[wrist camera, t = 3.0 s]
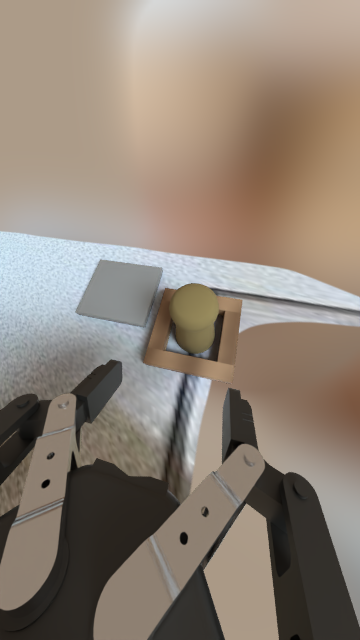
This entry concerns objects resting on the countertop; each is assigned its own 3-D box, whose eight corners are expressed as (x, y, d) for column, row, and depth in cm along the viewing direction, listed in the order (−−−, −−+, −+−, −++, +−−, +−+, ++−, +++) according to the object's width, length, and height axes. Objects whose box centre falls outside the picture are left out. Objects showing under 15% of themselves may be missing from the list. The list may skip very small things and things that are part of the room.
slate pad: (79, 314, 30) (75, 312, 30) (103, 263, 34) (100, 259, 33) (145, 327, 28) (143, 325, 28) (162, 271, 32) (161, 267, 31)
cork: (222, 327, 27) (236, 290, 17) (201, 361, 26) (204, 341, 16) (188, 309, 29) (184, 265, 19) (167, 340, 27) (150, 309, 17)
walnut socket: (146, 364, 26) (143, 362, 24) (167, 294, 30) (165, 288, 29) (229, 383, 24) (232, 383, 22) (239, 305, 28) (242, 299, 27)
